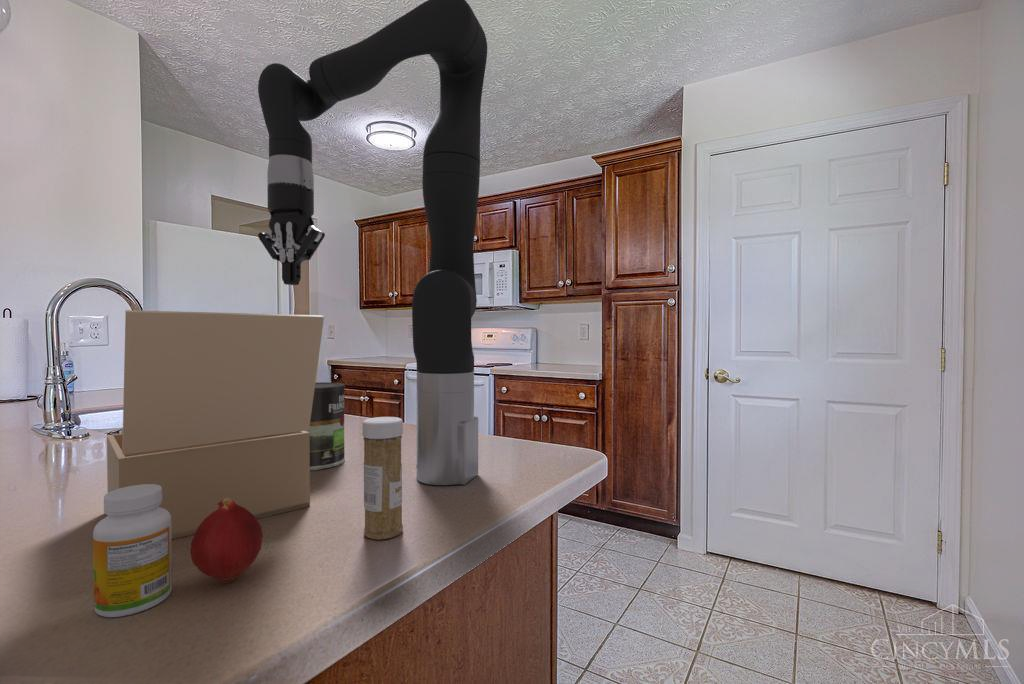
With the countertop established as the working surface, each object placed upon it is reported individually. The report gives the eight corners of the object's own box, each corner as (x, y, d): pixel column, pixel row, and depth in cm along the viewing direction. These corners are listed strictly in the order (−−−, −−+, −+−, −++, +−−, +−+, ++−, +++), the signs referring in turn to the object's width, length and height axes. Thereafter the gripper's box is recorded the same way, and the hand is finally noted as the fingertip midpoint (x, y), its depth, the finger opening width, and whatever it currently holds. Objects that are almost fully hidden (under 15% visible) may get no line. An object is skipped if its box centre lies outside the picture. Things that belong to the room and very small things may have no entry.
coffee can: (353, 455, 92) (353, 382, 92) (332, 471, 82) (332, 388, 81) (299, 455, 92) (299, 381, 92) (271, 471, 82) (271, 388, 81)
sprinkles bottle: (408, 535, 56) (408, 419, 56) (369, 544, 54) (369, 424, 53) (395, 522, 60) (394, 414, 60) (357, 530, 57) (357, 417, 57)
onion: (212, 567, 48) (212, 488, 48) (272, 565, 49) (272, 486, 49) (177, 599, 42) (176, 509, 42) (245, 596, 43) (245, 507, 43)
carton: (107, 511, 63) (106, 435, 63) (271, 479, 77) (271, 417, 77) (119, 552, 51) (118, 459, 51) (309, 506, 65) (309, 432, 65)
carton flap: (125, 310, 47) (126, 311, 47) (322, 315, 61) (324, 316, 60) (122, 452, 51) (122, 454, 51) (307, 427, 65) (309, 429, 64)
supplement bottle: (106, 592, 44) (105, 485, 43) (178, 580, 46) (177, 478, 46) (83, 625, 39) (81, 505, 38) (164, 610, 41) (163, 496, 41)
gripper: (244, 184, 84) (244, 283, 85) (307, 177, 80) (308, 281, 81) (276, 195, 91) (276, 287, 92) (336, 190, 88) (336, 285, 88)
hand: (291, 284), depth 86 cm, fingers closed
